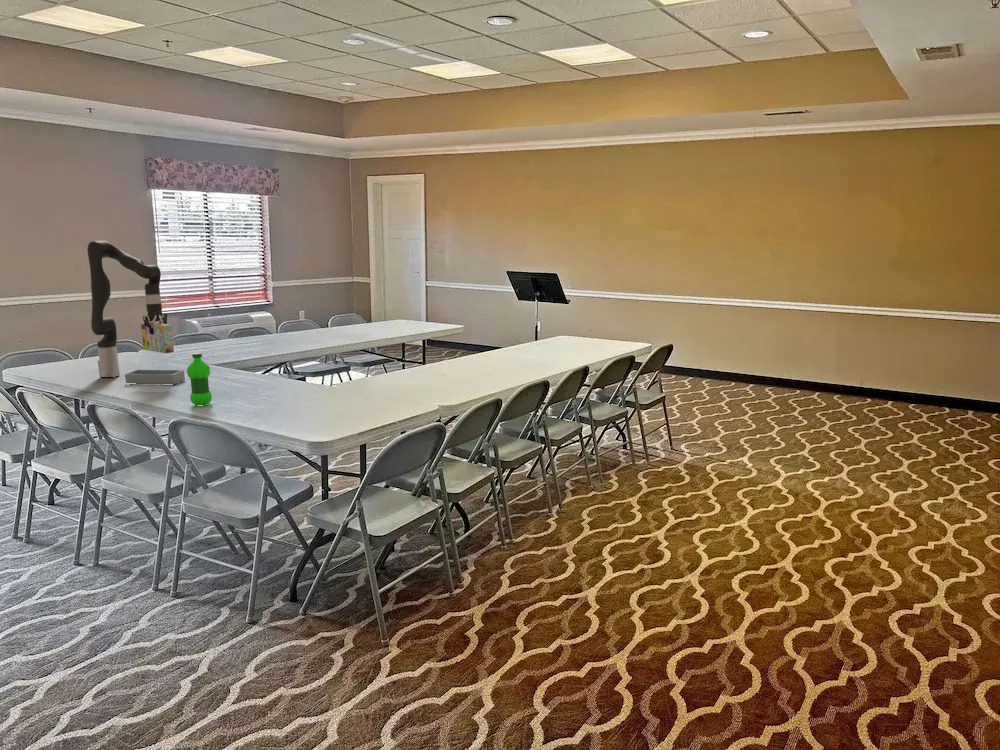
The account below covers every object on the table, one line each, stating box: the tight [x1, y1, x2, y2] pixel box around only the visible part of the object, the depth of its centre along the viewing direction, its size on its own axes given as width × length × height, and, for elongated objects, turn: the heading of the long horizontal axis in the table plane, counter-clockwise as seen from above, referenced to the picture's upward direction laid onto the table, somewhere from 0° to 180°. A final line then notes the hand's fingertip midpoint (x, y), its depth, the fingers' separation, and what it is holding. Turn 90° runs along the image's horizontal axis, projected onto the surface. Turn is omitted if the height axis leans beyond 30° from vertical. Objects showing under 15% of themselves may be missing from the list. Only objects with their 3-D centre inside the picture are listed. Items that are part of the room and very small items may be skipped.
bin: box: [124, 369, 186, 385], centre depth 398 cm, size 27×12×6 cm, turn 86°
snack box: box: [140, 322, 175, 354], centre depth 400 cm, size 21×6×15 cm, turn 57°
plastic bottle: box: [186, 352, 213, 406], centre depth 349 cm, size 10×10×25 cm
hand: (157, 333), depth 400 cm, fingers closed on snack box, 6 cm apart
